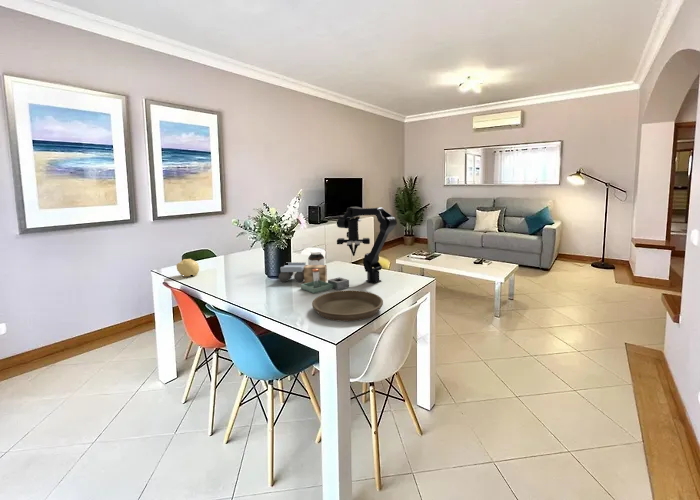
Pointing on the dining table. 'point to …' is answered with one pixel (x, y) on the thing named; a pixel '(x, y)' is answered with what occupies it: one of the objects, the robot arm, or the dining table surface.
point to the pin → (316, 278)
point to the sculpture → (188, 267)
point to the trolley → (292, 271)
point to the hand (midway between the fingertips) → (353, 255)
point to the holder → (339, 283)
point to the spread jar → (316, 258)
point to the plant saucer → (347, 305)
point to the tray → (310, 288)
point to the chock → (309, 273)
